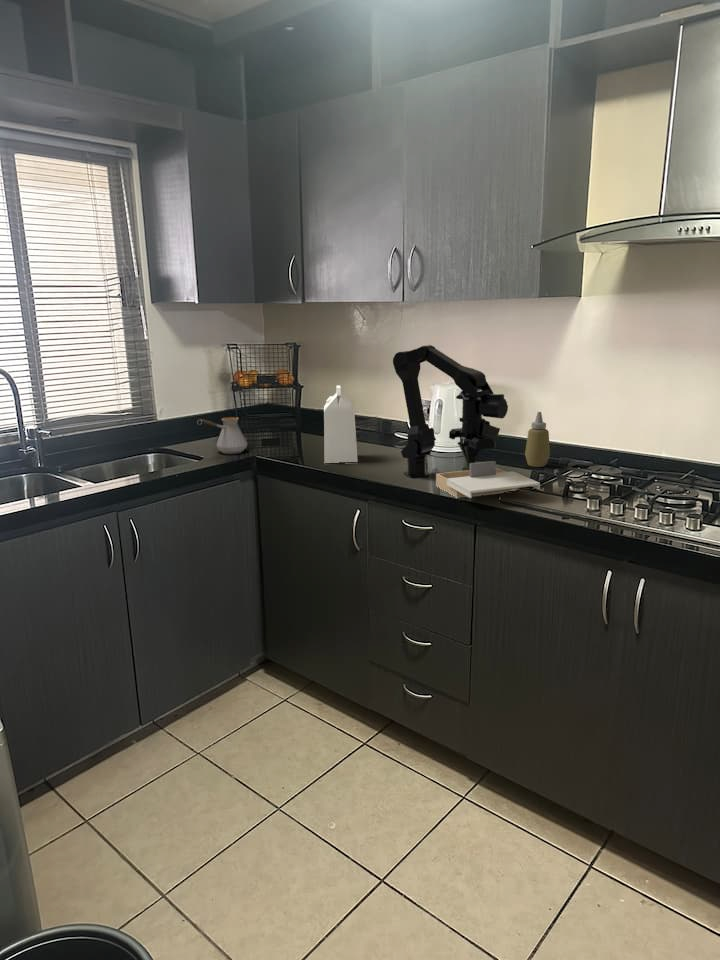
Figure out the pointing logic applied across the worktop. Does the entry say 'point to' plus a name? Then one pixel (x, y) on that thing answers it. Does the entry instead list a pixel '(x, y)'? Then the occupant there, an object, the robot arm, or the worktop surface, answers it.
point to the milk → (339, 430)
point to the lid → (488, 479)
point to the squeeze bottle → (537, 443)
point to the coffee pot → (229, 436)
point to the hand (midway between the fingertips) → (470, 466)
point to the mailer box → (442, 477)
